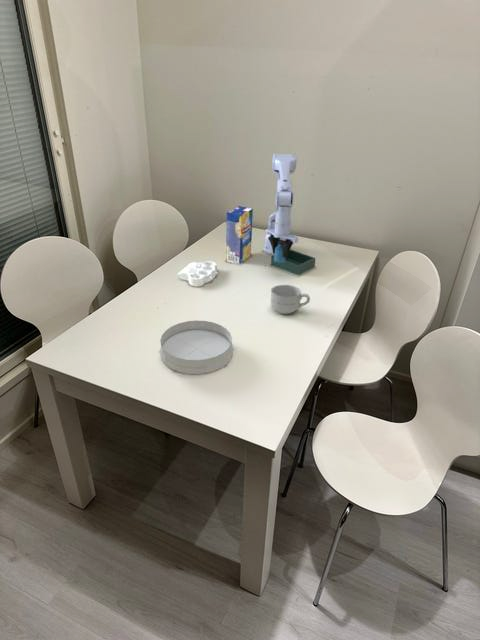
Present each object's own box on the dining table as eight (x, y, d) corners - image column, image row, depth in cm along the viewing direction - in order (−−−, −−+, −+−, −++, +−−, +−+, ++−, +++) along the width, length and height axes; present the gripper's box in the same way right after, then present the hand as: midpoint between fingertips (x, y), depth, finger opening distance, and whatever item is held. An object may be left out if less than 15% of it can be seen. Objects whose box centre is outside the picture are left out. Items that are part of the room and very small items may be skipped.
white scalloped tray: (193, 265, 197) (224, 271, 192) (173, 282, 182) (207, 289, 178) (193, 258, 195) (224, 263, 191) (173, 274, 180) (207, 281, 176)
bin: (270, 266, 198) (271, 256, 196) (287, 258, 206) (288, 248, 203) (298, 276, 190) (299, 266, 187) (314, 267, 198) (315, 257, 195)
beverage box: (250, 256, 207) (252, 208, 195) (239, 264, 198) (241, 215, 187) (237, 252, 209) (238, 205, 198) (226, 261, 201) (226, 212, 190)
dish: (196, 325, 155) (195, 313, 152) (246, 350, 143) (247, 337, 140) (145, 354, 140) (144, 340, 137) (197, 384, 128) (197, 370, 125)
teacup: (264, 312, 164) (266, 292, 159) (277, 299, 172) (278, 280, 168) (301, 322, 158) (303, 302, 154) (311, 309, 167) (314, 289, 162)
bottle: (271, 260, 185) (273, 241, 181) (278, 257, 188) (280, 238, 184) (280, 263, 183) (282, 244, 179) (287, 260, 186) (289, 241, 182)
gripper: (261, 220, 179) (260, 252, 186) (291, 229, 171) (288, 262, 178) (272, 216, 183) (270, 248, 190) (302, 225, 175) (299, 257, 182)
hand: (280, 254), depth 184 cm, fingers closed on bottle, 4 cm apart
